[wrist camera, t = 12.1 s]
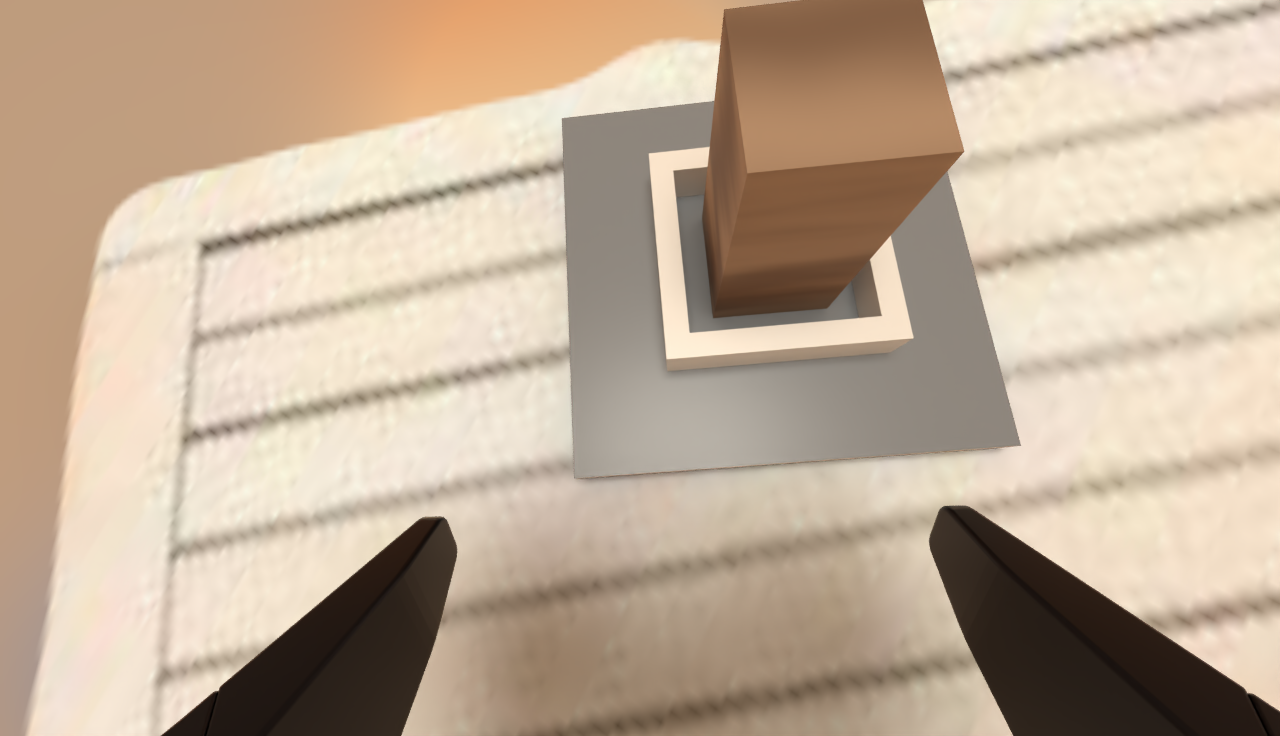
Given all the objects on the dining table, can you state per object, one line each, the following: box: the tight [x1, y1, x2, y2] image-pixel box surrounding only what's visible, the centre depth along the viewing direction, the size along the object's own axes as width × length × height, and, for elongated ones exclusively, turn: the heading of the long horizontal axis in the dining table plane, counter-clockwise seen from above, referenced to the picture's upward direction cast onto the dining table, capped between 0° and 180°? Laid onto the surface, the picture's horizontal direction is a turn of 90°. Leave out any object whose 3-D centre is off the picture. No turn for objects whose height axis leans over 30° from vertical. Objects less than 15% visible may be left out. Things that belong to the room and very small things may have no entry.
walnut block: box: [702, 0, 964, 318], centre depth 16 cm, size 5×5×10 cm
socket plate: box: [562, 101, 1021, 479], centre depth 21 cm, size 18×18×3 cm
